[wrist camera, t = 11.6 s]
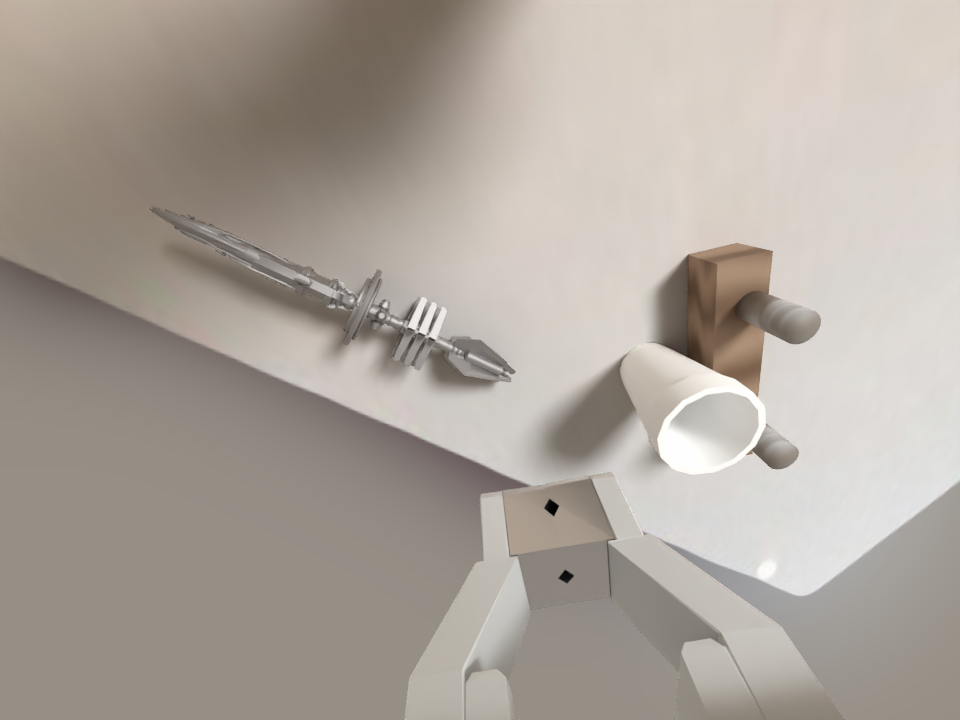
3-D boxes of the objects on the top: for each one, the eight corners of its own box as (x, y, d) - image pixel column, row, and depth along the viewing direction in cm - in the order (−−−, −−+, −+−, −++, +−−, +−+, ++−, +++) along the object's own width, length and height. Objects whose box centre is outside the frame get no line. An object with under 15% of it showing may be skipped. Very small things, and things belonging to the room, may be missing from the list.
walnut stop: (688, 254, 39) (764, 279, 29) (736, 243, 39) (830, 263, 29) (687, 437, 49) (743, 500, 40) (725, 428, 49) (792, 491, 39)
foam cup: (701, 344, 44) (788, 403, 32) (660, 408, 47) (725, 483, 36) (629, 320, 42) (694, 373, 30) (593, 388, 46) (638, 460, 34)
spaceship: (145, 145, 27) (97, 247, 27) (541, 347, 39) (509, 417, 38) (191, 180, 34) (154, 259, 34) (511, 340, 46) (484, 399, 46)
